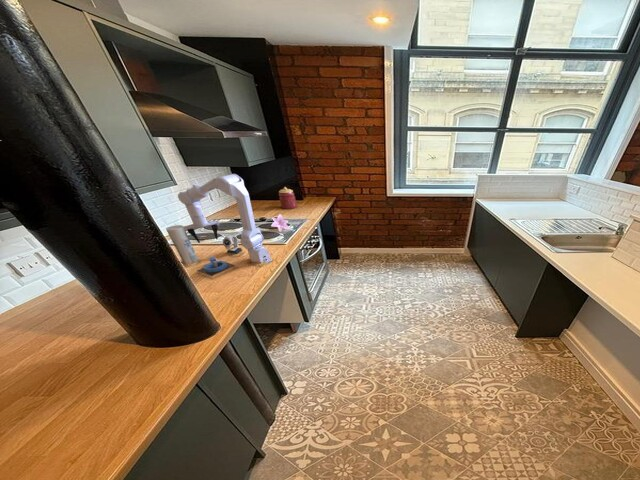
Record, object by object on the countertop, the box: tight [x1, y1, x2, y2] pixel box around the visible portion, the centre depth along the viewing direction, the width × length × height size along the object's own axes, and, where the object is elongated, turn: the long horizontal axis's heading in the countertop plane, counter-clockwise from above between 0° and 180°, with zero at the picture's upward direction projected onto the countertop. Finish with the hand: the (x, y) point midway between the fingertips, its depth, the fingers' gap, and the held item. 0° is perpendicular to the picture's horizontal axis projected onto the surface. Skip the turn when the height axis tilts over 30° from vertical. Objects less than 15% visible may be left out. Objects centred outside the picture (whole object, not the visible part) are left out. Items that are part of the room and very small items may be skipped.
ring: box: [203, 256, 227, 272], centre depth 124 cm, size 12×9×3 cm
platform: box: [196, 260, 237, 277], centre depth 123 cm, size 12×12×5 cm
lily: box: [270, 213, 290, 233], centre depth 173 cm, size 12×12×10 cm
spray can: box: [165, 224, 199, 265], centre depth 125 cm, size 6×6×20 cm
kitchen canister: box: [278, 186, 298, 210], centre depth 218 cm, size 13×13×18 cm
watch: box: [222, 235, 243, 255], centre depth 137 cm, size 6×8×11 cm
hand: (208, 240), depth 131 cm, fingers open, 7 cm apart
